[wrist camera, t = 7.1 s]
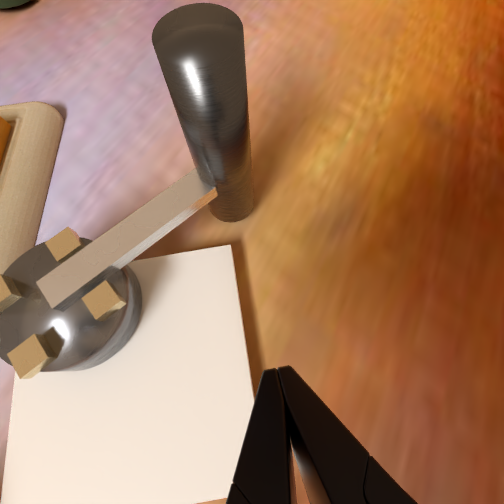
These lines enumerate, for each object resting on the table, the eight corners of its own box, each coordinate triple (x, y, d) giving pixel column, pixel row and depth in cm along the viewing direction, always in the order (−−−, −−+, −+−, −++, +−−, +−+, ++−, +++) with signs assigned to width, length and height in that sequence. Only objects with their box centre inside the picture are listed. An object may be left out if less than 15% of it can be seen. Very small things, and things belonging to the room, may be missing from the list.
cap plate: (266, 480, 18) (267, 489, 17) (17, 526, 18) (-5, 540, 16) (232, 251, 23) (230, 244, 22) (40, 284, 23) (25, 278, 22)
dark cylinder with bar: (282, 221, 23) (302, 61, 11) (67, 398, 19) (-271, 453, 7) (217, 159, 25) (175, -30, 13) (14, 305, 22) (-308, 226, 9)
